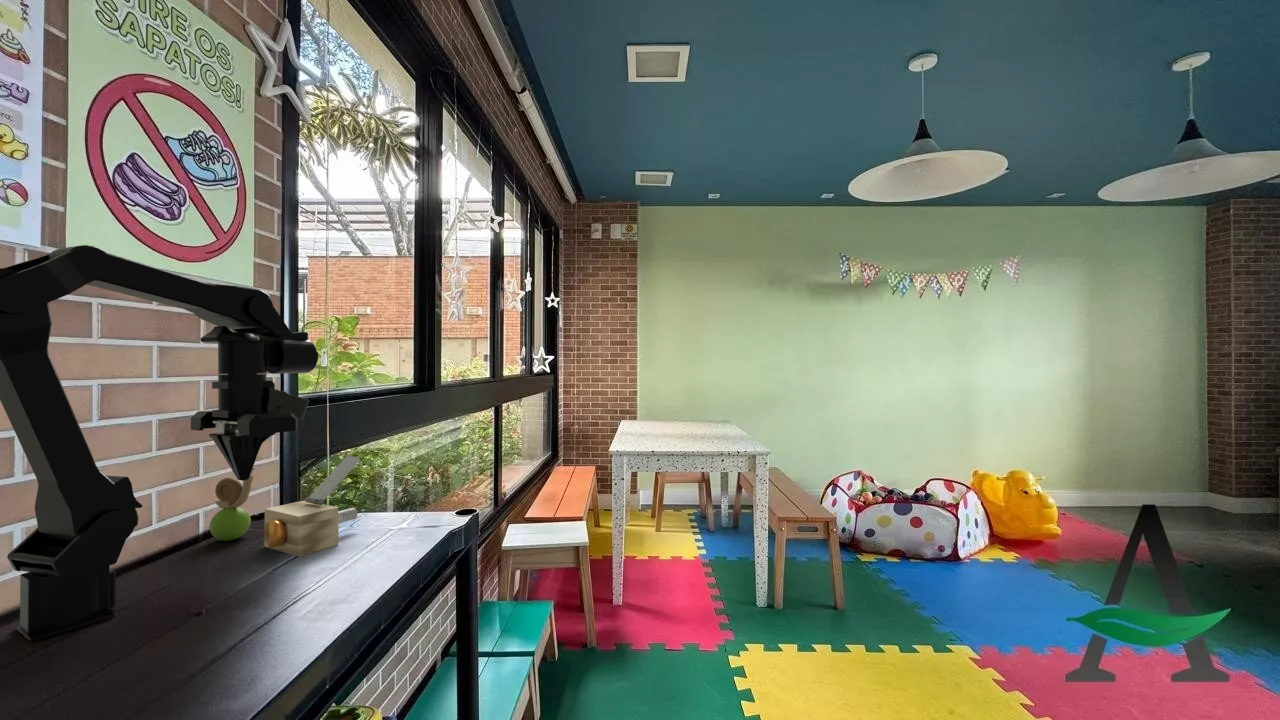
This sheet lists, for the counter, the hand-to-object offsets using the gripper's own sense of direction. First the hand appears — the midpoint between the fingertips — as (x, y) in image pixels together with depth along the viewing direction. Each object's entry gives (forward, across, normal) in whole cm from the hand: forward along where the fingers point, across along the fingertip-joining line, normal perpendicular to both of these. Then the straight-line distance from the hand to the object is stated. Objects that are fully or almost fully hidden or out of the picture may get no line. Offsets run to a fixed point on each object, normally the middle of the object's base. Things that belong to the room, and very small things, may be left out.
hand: (243, 479), depth 77 cm
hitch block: (+12, 0, -8) cm, 15 cm away
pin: (+11, 0, -10) cm, 15 cm away
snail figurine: (+12, +14, -4) cm, 19 cm away
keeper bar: (+3, 0, -14) cm, 14 cm away
